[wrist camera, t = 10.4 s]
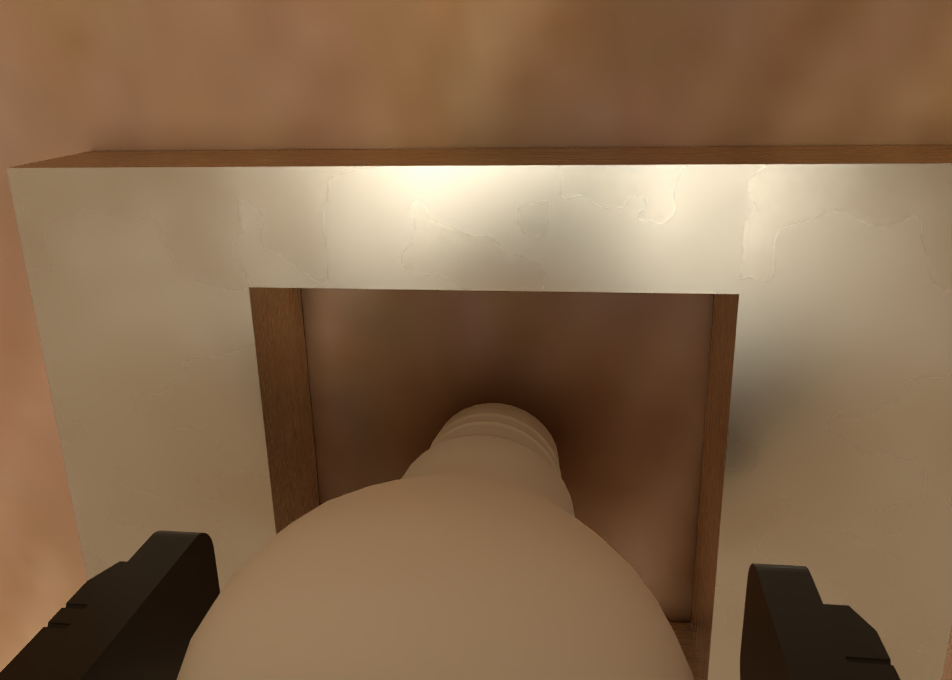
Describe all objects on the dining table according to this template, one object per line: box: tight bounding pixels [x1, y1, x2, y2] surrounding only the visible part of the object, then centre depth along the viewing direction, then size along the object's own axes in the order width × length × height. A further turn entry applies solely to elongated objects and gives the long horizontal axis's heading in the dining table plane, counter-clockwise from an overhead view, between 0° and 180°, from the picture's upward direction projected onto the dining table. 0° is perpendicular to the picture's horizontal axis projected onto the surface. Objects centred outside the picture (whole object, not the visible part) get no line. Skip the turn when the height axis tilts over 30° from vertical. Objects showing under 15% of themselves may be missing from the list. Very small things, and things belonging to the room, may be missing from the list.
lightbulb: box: [177, 403, 694, 680], centre depth 12 cm, size 6×6×11 cm
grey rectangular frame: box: [6, 145, 952, 680], centre depth 16 cm, size 16×12×2 cm
